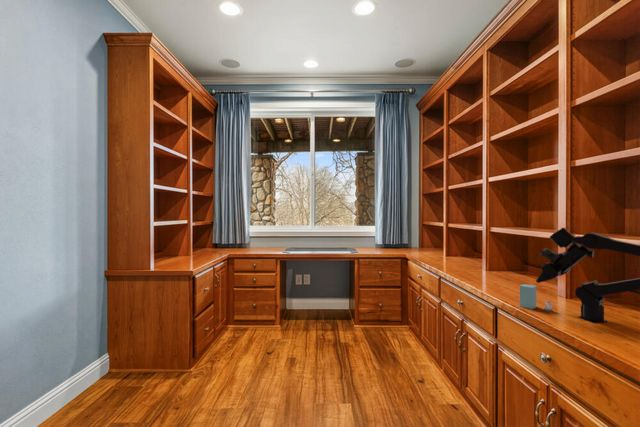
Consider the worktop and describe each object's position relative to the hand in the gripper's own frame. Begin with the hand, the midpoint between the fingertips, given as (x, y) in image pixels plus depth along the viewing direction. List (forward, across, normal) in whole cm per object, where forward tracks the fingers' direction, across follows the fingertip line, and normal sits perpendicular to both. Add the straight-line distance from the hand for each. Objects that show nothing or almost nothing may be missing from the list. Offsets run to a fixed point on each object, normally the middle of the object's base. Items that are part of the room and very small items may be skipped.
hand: (540, 280), depth 139 cm
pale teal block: (+12, 0, +5) cm, 13 cm away
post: (+7, 0, +10) cm, 13 cm away
